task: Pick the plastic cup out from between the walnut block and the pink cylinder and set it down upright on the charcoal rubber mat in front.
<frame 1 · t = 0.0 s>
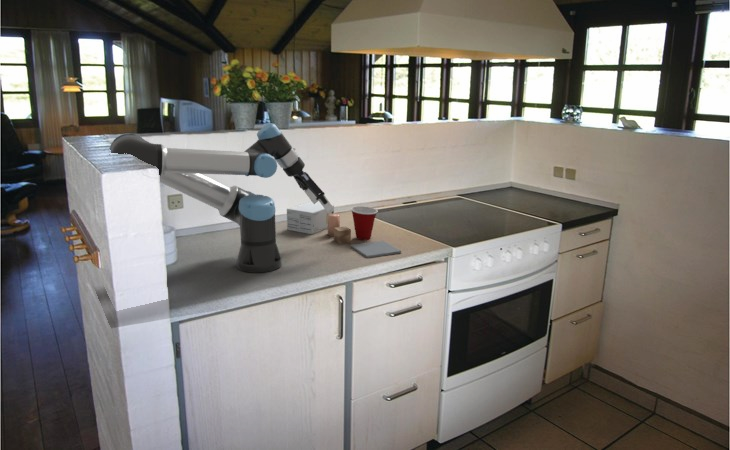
hand: (323, 205, 207), 15 cm above the countertop, tool tilted 35°, fingers open, 13 cm apart
plastic cup: (364, 238, 220), on the countertop
mat: (375, 250, 205), on the countertop
walnut block: (342, 240, 216), on the countertop
pink cylinder: (333, 233, 225), on the countertop
supplement box: (311, 228, 234), on the countertop
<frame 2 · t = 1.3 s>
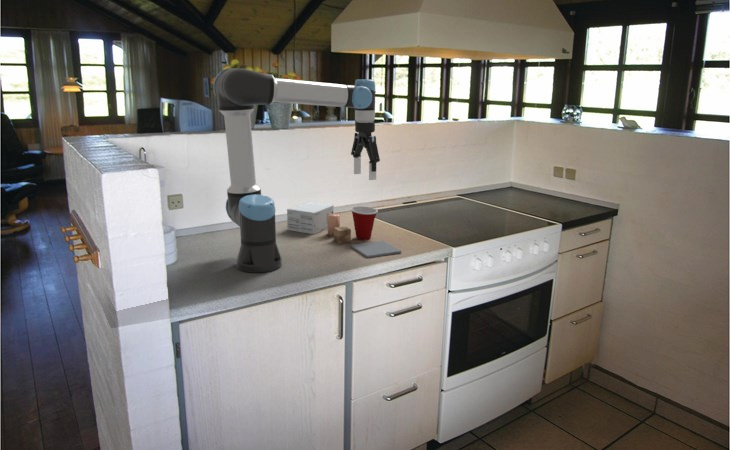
hand: (364, 176, 214), 25 cm above the countertop, tool pointing down, fingers open, 13 cm apart
nothing on the countertop moved.
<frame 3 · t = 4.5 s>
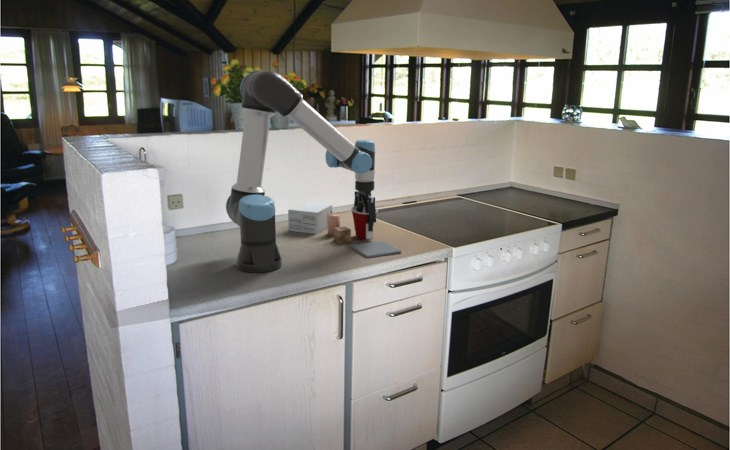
hand: (364, 235, 220), 1 cm above the countertop, tool pointing down, fingers closed on plastic cup, 9 cm apart
plastic cup: (364, 238, 220), on the countertop, touching gripper
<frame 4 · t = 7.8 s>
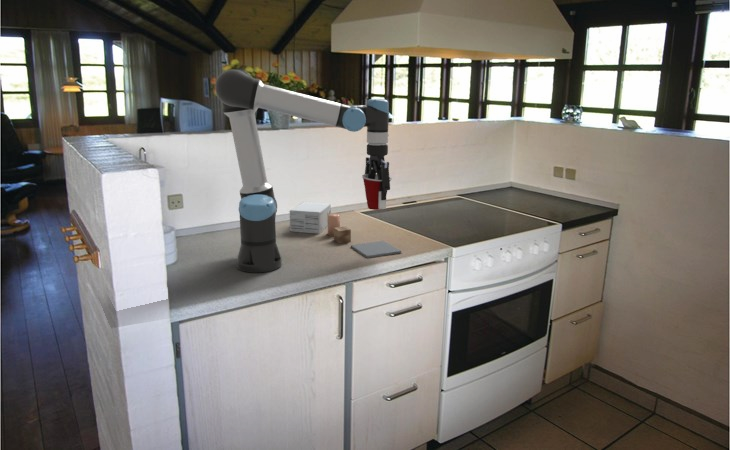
hand: (376, 205, 201), 17 cm above the countertop, tool pointing down, fingers closed on plastic cup, 9 cm apart
plastic cup: (376, 208, 201), point 16 cm above the countertop, touching gripper
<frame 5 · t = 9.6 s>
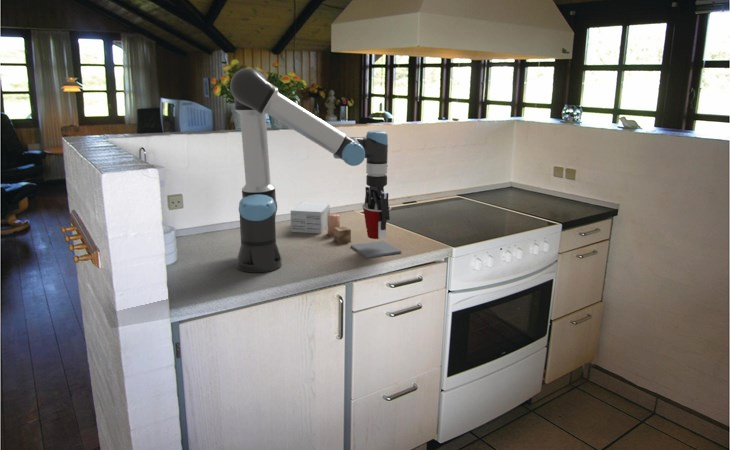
hand: (376, 234, 204), 6 cm above the countertop, tool pointing down, fingers closed on plastic cup, 9 cm apart
plastic cup: (376, 237, 204), point 5 cm above the countertop, touching gripper
when the fingers open (3 cm above the countertop, at t = 11.1 s): plastic cup drops 1 cm, resting on mat.
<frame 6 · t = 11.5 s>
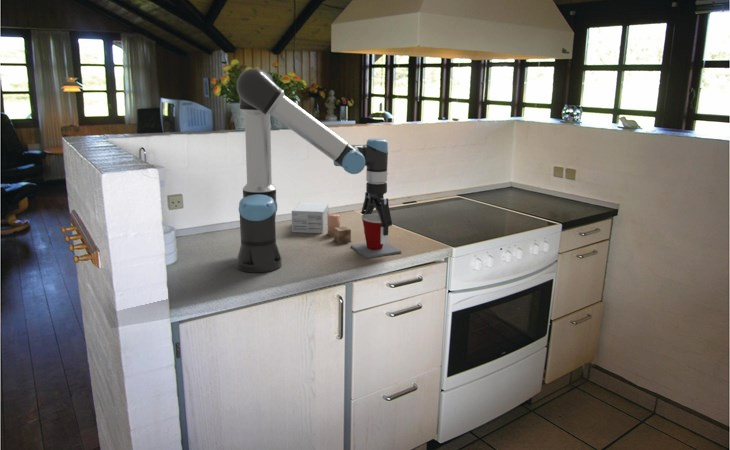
hand: (375, 238, 204), 4 cm above the countertop, tool pointing down, fingers open, 13 cm apart
plastic cup: (375, 248, 205), point 1 cm above the countertop, touching mat
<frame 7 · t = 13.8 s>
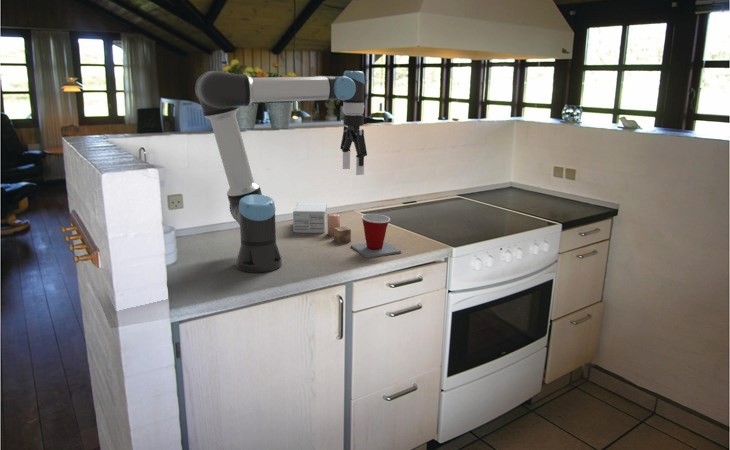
hand: (352, 171, 207), 28 cm above the countertop, tool pointing down, fingers open, 13 cm apart
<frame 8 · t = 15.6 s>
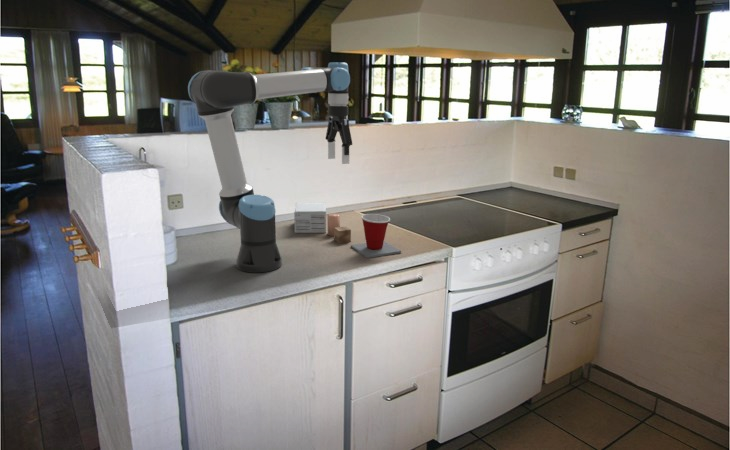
hand: (338, 161, 213), 31 cm above the countertop, tool pointing down, fingers open, 13 cm apart
at the end: plastic cup inside the target area on the mat (0.3 cm from its centre), point 0.6 cm above the mat's base; plastic cup tilted 0°; the gripper is holding nothing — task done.
